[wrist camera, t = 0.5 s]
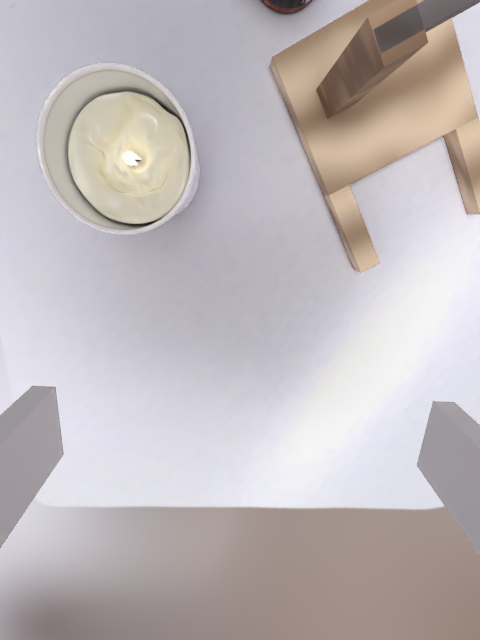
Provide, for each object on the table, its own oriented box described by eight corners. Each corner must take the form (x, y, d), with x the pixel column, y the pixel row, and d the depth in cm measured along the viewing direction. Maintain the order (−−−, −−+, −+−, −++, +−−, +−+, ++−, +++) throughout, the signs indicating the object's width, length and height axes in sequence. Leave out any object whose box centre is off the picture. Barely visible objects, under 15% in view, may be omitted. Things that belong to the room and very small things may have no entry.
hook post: (315, 89, 30) (367, 16, 18) (388, 48, 29) (488, -54, 18) (327, 119, 31) (384, 67, 19) (398, 80, 30) (501, 1, 18)
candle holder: (139, 88, 31) (86, 19, 20) (228, 161, 33) (227, 137, 22) (83, 183, 34) (6, 170, 22) (170, 246, 36) (141, 265, 24)
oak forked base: (270, 66, 31) (272, 57, 29) (422, -23, 29) (436, -40, 27) (354, 269, 37) (360, 272, 35) (486, 204, 35) (501, 203, 33)
